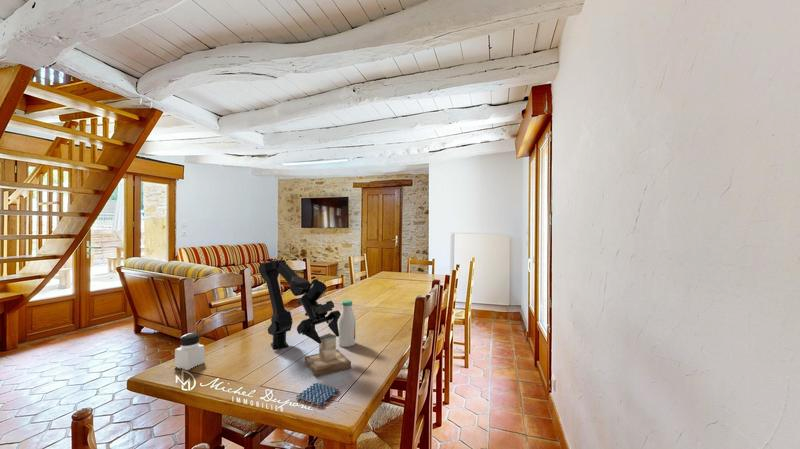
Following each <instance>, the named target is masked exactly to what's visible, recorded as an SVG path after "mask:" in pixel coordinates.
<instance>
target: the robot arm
mask: <svg viewBox="0 0 800 449" xmlns="http://www.w3.org/2000/svg"><path fill="white" fill-rule="evenodd" d="M258 272H259V274H260V277H261V279H263V280H264V281H265V282H266V286H267V291H268V294H269V298H270V304H271V307H272V308H271V309H272V311H273V312H272V315H271V318H270V320H271V323H270V325H269V326H268V328H267V333H268V335H271V336H272V342H270V346H271V348H272V349H273V350H276V349H281V348H285V347H286V348H287V347H289V344H288V343H287V332H291V330H292V326H293V317H292V312H291V311H290V310H287V309H286V308H285V304H284V300H283V296H282V293H281V292H282V291H281V288H280V284H279V279H278V278H279V275H280V276H281V277H282V278H283V279H284V280H285V281H286V282H287V283H288V285H289V290H290V292H291V293H292V294H293V296H295V297H298V296H301V297H299V298H298V301H297V305H301V306H302V307H303V309H304V311H305V313H304V315H305V316H306V317H308V318H305V319H303V320H301V321H300V322H299V323H298V325H297V327H296V332H297V333H298V335H302V336H304V335H305V337H308V338H309V339H311V340H313V341H315V343H317V344H320V343H321V340H320V338H319V337H320V336H319V334H318V332H317V330H316V326H317V325H320V324H323V323H326V324H327V326H328V328H329V329H330V330H331V331H332V334H333V335H336V338H337V337H338V338H339V318H340V316H341V312H340V310H337V309H336V310H333V309H334V308H335V304H334V302H333V300H332V299H331V300H328V301H326V302H325V303H323V304H322V303H319V302H318V300H319V299H320V298H321V297H322V296H323V294H324V293H325V292H326V291H327V285H326V283H324V282H322V281H321V280H319V279H318V278H316V279H313V280H312V281H311V282H310V281H309V280H307V279H306V278H305V277H302V276H299V275H298V274H297V273H296V272H295V271H294V269H292V267H290V266H289V265H288V263H287V261H286V260H285V259H275V260H273V261H265V262H261V263H260V265H259V266H258ZM328 312H329V313H328Z"/></svg>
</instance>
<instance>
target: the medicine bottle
mask: <svg viewBox="0 0 800 449" xmlns="http://www.w3.org/2000/svg"><path fill="white" fill-rule="evenodd" d="M205 355H206V354H205V345H204V344H200V335H199V333H195V332H191V333H190V332H189V333H186V334H184V335H182V336H181V337H180V347H177V348H175V349H174V368H176V367H177V369H181V368H182V369H181V370H186V371H189V370H191V368H192V369H193V367H194V368H195V366H196V367H197V365H198V366H200V365H202V364H204V363H205V358H206V357H205Z"/></svg>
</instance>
